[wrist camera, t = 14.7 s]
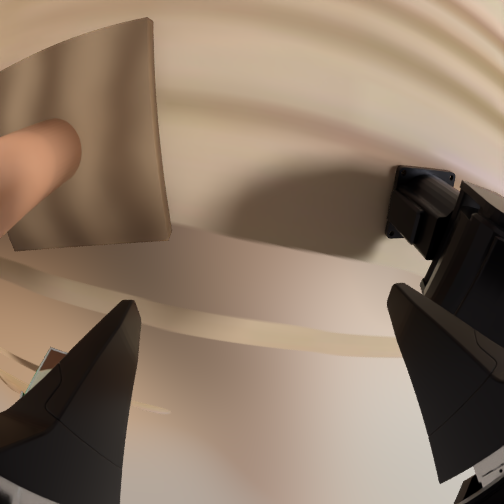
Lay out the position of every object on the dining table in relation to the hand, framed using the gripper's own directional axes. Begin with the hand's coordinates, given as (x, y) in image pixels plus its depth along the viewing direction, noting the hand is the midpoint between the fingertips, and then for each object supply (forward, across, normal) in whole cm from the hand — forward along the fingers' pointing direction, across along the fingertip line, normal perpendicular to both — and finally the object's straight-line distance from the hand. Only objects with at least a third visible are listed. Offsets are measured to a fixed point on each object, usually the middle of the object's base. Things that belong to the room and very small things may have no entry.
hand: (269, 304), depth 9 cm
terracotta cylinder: (+12, +14, -4) cm, 18 cm away
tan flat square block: (+13, +14, -4) cm, 20 cm away
